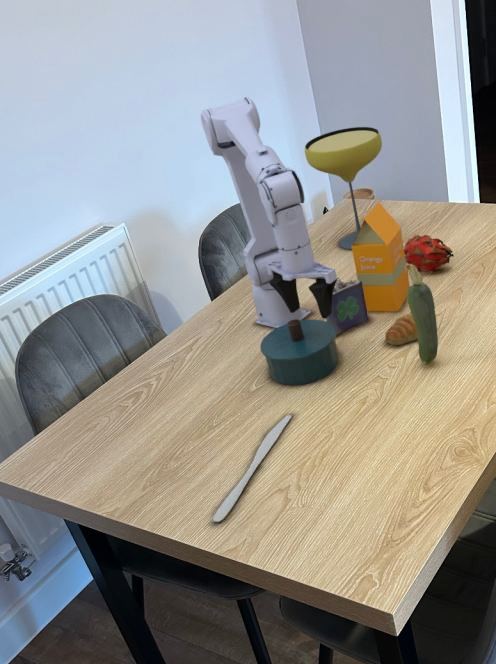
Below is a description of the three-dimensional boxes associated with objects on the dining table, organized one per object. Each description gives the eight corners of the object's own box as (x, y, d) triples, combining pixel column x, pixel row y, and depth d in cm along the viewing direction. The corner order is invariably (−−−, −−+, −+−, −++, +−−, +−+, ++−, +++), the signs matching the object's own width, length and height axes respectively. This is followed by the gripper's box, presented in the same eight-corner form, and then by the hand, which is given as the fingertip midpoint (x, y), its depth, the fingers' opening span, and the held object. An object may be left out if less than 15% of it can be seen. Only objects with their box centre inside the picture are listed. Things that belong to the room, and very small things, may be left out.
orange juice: (363, 311, 158) (345, 220, 147) (377, 291, 165) (361, 202, 153) (398, 311, 155) (382, 218, 144) (411, 291, 161) (397, 200, 150)
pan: (256, 376, 145) (249, 351, 142) (302, 342, 152) (295, 318, 149) (307, 391, 137) (300, 365, 134) (353, 354, 144) (347, 329, 141)
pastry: (401, 351, 142) (398, 333, 140) (377, 341, 147) (374, 324, 145) (436, 329, 146) (434, 312, 144) (412, 321, 151) (410, 304, 149)
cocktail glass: (311, 248, 192) (288, 149, 177) (361, 221, 200) (343, 124, 186) (360, 261, 180) (339, 155, 165) (411, 231, 188) (396, 128, 174)
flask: (333, 338, 151) (322, 290, 145) (326, 334, 153) (314, 286, 147) (371, 321, 154) (362, 272, 148) (364, 316, 156) (354, 268, 150)
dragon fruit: (404, 272, 174) (453, 282, 169) (390, 265, 166) (441, 275, 161) (414, 235, 172) (463, 244, 168) (400, 226, 165) (451, 236, 160)
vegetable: (445, 359, 137) (431, 256, 125) (439, 372, 134) (424, 268, 122) (421, 359, 138) (405, 257, 127) (415, 372, 135) (398, 269, 124)
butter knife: (204, 518, 112) (221, 520, 111) (280, 414, 132) (295, 414, 131) (206, 521, 113) (222, 523, 111) (281, 417, 132) (296, 417, 131)
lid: (246, 355, 142) (239, 334, 139) (296, 319, 150) (291, 299, 148) (301, 370, 133) (296, 348, 131) (352, 331, 142) (347, 310, 139)
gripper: (248, 249, 133) (267, 318, 141) (312, 257, 125) (328, 329, 132) (273, 233, 137) (291, 300, 145) (336, 239, 129) (351, 310, 137)
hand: (310, 313), depth 139 cm, fingers open, 7 cm apart
